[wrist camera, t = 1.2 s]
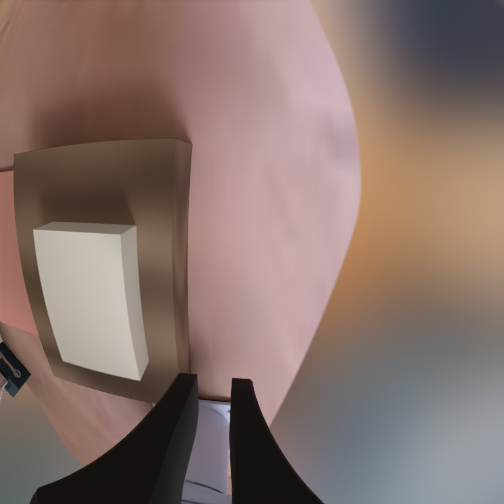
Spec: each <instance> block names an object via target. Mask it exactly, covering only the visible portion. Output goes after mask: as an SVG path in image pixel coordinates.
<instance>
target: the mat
mask: <svg viewBox="0 0 504 504" xmlns="http://www.w3.org/2000/svg"><path fill="white" fill-rule="evenodd" d="M13 171H14V170H12V171H6V172H0V322H2V323H5V324H7V325H10V326H13V327H15V328H18V329H21V330H23V331H26V332H29V333H32V334H35V335H38V336H39V334H38V331H37V328H36V325H35V321H34V318H33V314H32V311H31V307H30V303H29V299H28V295H27V291H26V287H25V282H24V277H23V272H22V267H21V261H20V255H19V248H18V241H17V233H16V223H15V210H14V185H13Z"/></svg>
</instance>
